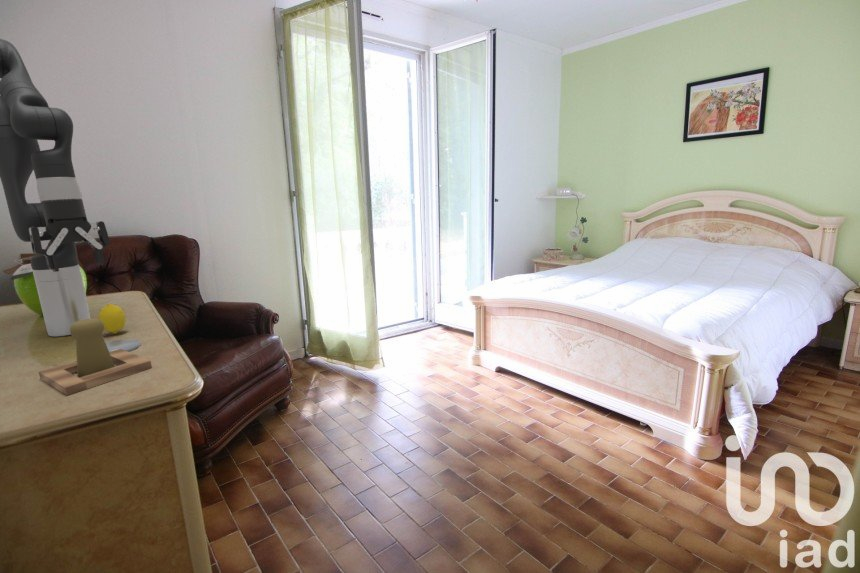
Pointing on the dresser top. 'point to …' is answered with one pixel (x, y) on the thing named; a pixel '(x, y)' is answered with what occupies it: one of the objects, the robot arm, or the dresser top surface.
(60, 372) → the walnut board
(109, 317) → the lemon
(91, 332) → the cork
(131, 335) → the dresser top surface
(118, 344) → the slate coaster
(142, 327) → the dresser top surface
